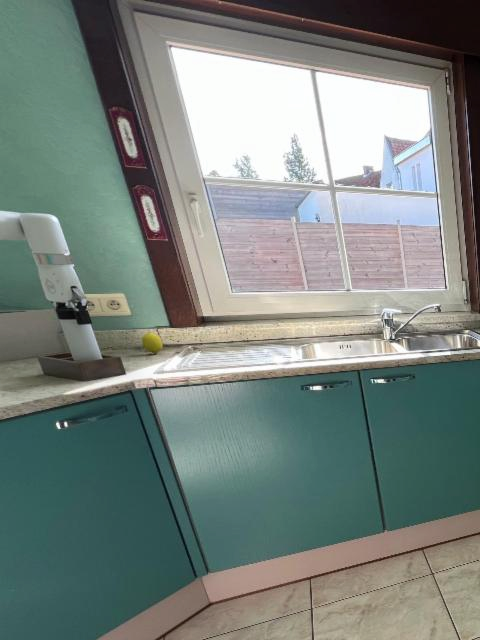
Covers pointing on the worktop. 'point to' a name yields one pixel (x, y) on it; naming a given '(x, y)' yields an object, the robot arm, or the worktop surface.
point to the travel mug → (78, 337)
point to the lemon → (152, 343)
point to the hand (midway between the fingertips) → (76, 323)
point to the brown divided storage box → (81, 367)
